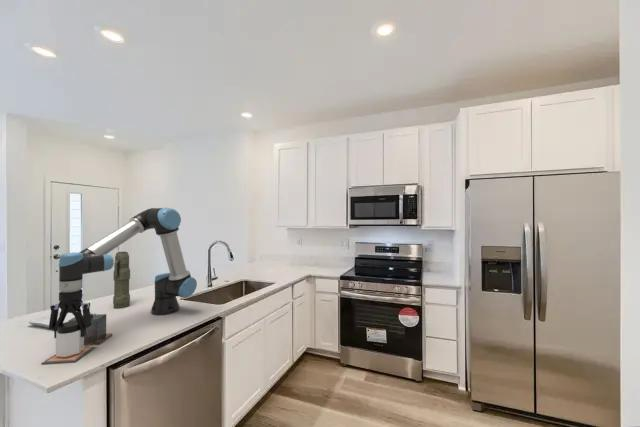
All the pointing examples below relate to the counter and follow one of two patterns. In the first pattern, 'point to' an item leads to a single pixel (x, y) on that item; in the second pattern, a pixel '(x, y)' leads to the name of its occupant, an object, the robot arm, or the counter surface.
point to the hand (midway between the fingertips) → (70, 345)
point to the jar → (68, 339)
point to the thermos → (121, 281)
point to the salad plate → (45, 320)
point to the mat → (68, 359)
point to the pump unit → (95, 330)
